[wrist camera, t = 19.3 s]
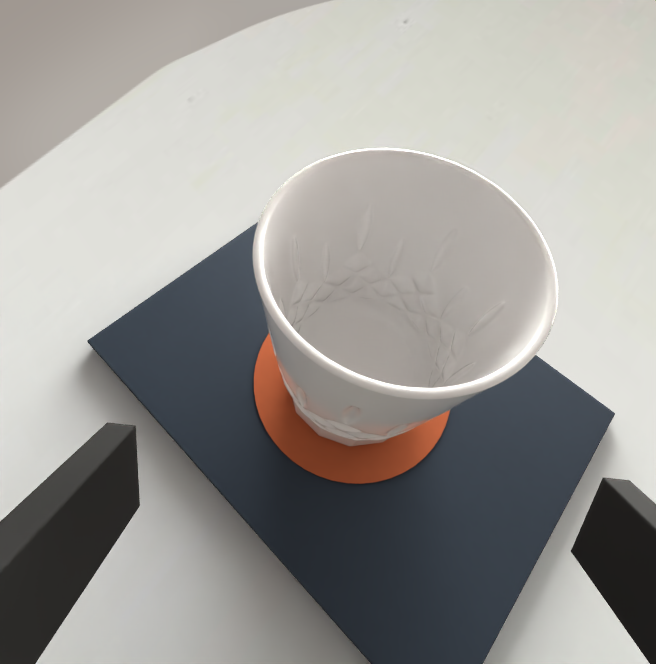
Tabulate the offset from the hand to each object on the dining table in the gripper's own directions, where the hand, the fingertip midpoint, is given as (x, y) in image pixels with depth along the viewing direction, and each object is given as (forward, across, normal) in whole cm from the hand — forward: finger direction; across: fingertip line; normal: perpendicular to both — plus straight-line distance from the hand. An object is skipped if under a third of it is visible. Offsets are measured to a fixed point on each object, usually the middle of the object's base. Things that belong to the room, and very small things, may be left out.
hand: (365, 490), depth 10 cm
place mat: (+9, 0, -1) cm, 9 cm away
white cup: (+8, 0, 0) cm, 8 cm away
